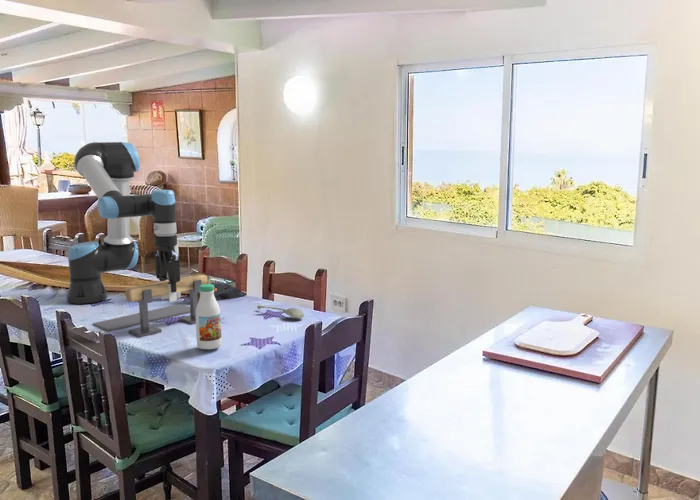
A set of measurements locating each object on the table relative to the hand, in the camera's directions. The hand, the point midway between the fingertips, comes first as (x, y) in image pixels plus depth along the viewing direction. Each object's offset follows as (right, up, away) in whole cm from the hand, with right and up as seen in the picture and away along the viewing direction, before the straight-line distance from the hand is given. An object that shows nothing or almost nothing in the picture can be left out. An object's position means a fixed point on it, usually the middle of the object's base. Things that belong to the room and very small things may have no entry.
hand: (169, 299), depth 214 cm
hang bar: (0, +2, 0) cm, 3 cm away
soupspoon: (+35, -6, +15) cm, 39 cm away
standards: (0, -10, +2) cm, 10 cm away
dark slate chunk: (+8, -2, +49) cm, 50 cm away
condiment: (+2, -4, +34) cm, 34 cm away
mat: (-12, -8, +12) cm, 19 cm away
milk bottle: (+19, -13, -20) cm, 31 cm away
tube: (-9, -4, +39) cm, 40 cm away
